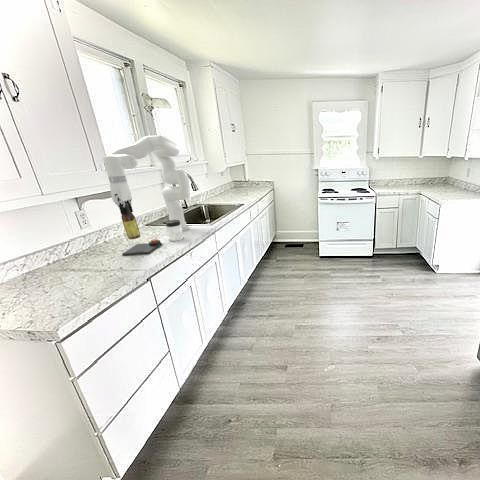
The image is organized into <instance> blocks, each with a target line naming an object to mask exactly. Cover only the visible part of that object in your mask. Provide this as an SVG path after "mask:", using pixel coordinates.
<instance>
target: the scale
mask: <svg viewBox="0 0 480 480" xmlns="http://www.w3.org/2000/svg"><path fill="white" fill-rule="evenodd" d="M162 245H163V243H162V242H161V240H160V239H157V242H155V243H152V241H151V240H150V241H149V242H146V243H136V244H135V245H133V246H132V247H130V248H128V249H127V250H126V251H124V252H122V254H121V256H122V257H128V256H129V257H130V256H143V255H150V254H151V253H153V252H154V251H155V250H157V249H159V247H161V246H162Z"/></svg>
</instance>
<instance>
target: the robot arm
mask: <svg viewBox="0 0 480 480" xmlns="http://www.w3.org/2000/svg"><path fill="white" fill-rule="evenodd" d="M150 154H153V155H154V156H155V157H156V158H157V159H158V161H159V162H160V165H161V172H162V180H163V183H165V184H166V185H169V186H165V187H163V189H162V190H161V195H162V197H163V199H164V202H165V205H166V208H167V214H168V218H169V221H170V220H180V224H181V227H182V232H185V231H188V230H189V229H190V227H189V226H188V225H187V221H186V219H185V218H186V217H185V214H184V209H183V205H182V203H181V201H186V200H188V199H190V196H191V190H190V182H189V176H188V173H187V172H186V171H185V170H182V169H177V166H176V161H175V160H174V159H173V158H172V157H177V156H178V155H179V154H180V148H179V145H177V144H176V143H175V142H174V141H172V140H171V139H169V138H167V137H165V136H162V135H146V136H143V137H142V138H140V139H139V140H137V141H136V142H135V143H132V144H130V145H128V146H125V147H122V148H119V149H116V150H115V151H112V152H110V154H108V155H104V156H103V157H102V160H103V163H104V164H103V165H104V167H105V171H106V174H107V177H108V182H109V189H110V190H109V191H110V195H111V200H112V202H113V203H114V204H115V205H116V206H117V207H118V208H119V211H120V215H121V216H122V215H126V214H128V212H127V208H126V207H125V203H128V204H129V209H130V211H131V212H132V213H134V210H133V206H132V200H133V197H132V192H131V189H130V186H129V183H128V179H127V175H126V172H125V170H132V169H135V168H136V167H137V166H138V160H142V159H145V158H147V156H149V155H150ZM171 185H172V186H171ZM174 185H175V186H174ZM176 185H178V186H176Z"/></svg>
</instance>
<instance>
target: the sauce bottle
mask: <svg viewBox="0 0 480 480" xmlns="http://www.w3.org/2000/svg"><path fill="white" fill-rule="evenodd" d="M125 207H126V208H127V212H128V214H126V215H121V221H122V225H123V227H124V231H125V233H126V237H127V239H128V240H136V239H139V238H141V231H140V228H139V225H138V222H137V219H136V216H135V215H134V214H133V212H131V211H130V209H129V204H128V203H125Z"/></svg>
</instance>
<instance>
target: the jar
mask: <svg viewBox="0 0 480 480" xmlns="http://www.w3.org/2000/svg"><path fill="white" fill-rule="evenodd" d="M165 229H166V233H167V237H168V241H170V242H171V241H172V242H175V241H180V240H183V239H184V231H182V227H181V224H180V220H170V219H169V220H167V221H165Z"/></svg>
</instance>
